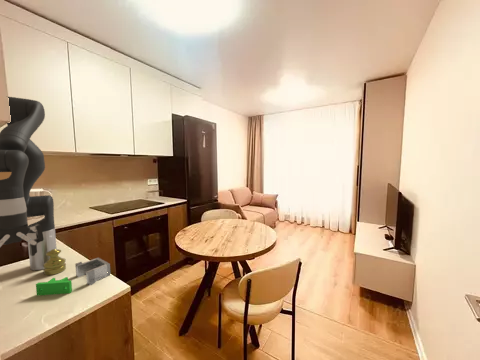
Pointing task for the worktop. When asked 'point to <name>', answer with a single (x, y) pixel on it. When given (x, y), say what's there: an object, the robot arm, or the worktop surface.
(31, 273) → the worktop surface
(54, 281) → the pipe clamp
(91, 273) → the grey u-shaped bracket
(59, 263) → the gold twisted vase
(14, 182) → the robot arm
